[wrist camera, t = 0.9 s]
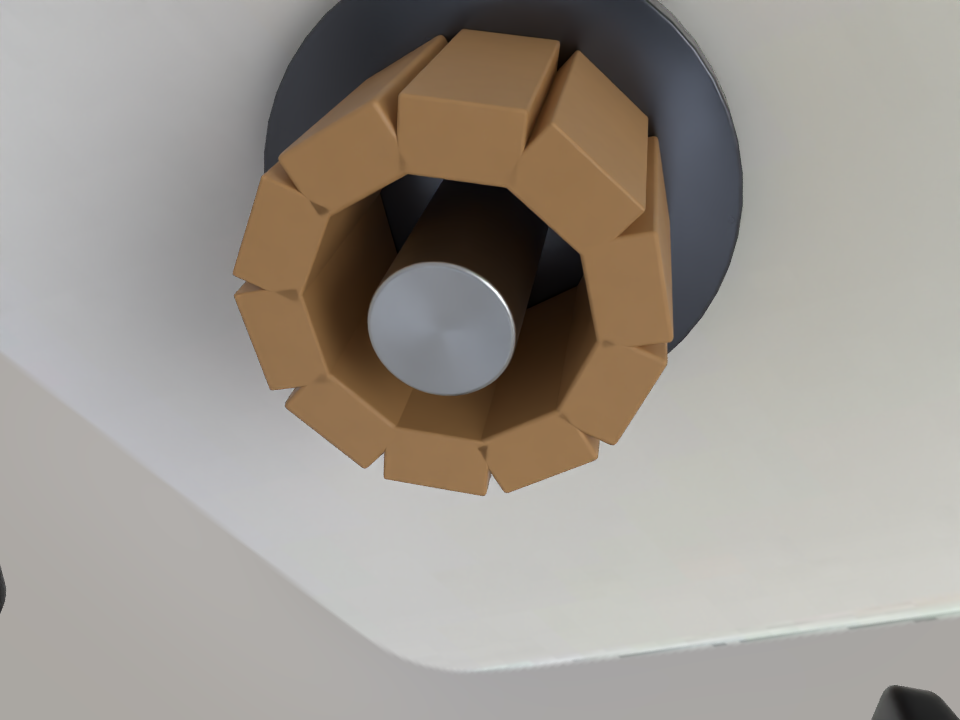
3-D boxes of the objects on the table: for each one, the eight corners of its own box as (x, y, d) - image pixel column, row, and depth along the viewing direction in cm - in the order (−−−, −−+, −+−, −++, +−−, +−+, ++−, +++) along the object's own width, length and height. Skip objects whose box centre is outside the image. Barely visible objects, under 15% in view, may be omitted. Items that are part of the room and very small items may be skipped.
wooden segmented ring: (509, 412, 21) (473, 556, 17) (265, 207, 20) (157, 311, 16) (743, 209, 18) (770, 327, 14) (471, -56, 17) (407, -15, 12)
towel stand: (517, 458, 23) (473, 654, 18) (197, 196, 21) (34, 327, 16) (844, 188, 19) (924, 341, 13) (477, -186, 16) (384, -193, 11)
